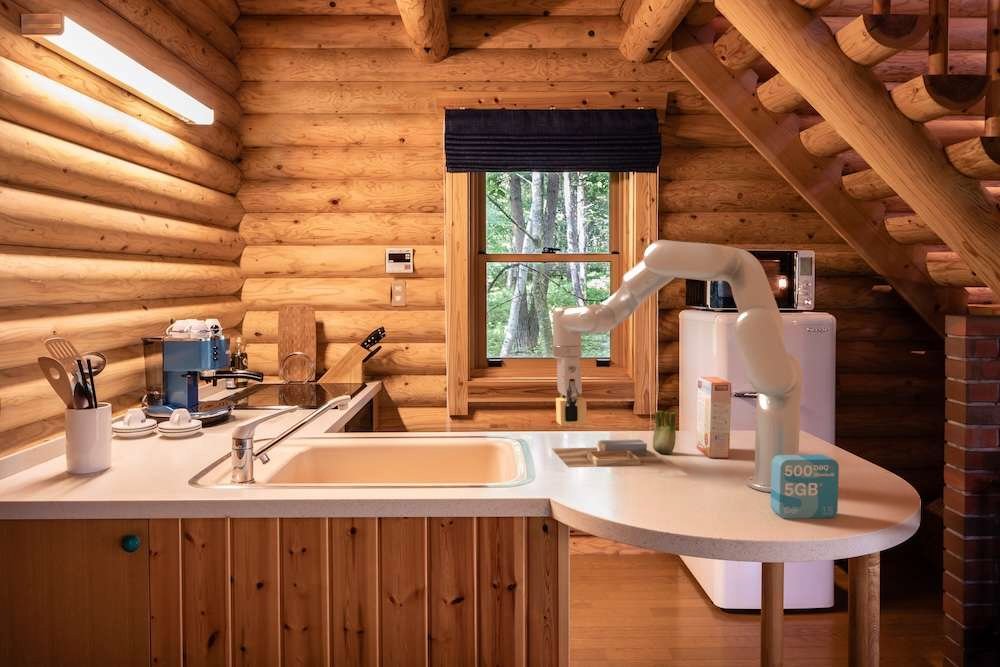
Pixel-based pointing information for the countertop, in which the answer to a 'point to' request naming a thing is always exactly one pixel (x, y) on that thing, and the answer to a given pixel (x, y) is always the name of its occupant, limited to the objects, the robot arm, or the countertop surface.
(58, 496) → the countertop surface
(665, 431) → the fennel bulb
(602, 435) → the countertop surface
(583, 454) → the board
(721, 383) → the cracker box
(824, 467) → the data package
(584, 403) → the block
